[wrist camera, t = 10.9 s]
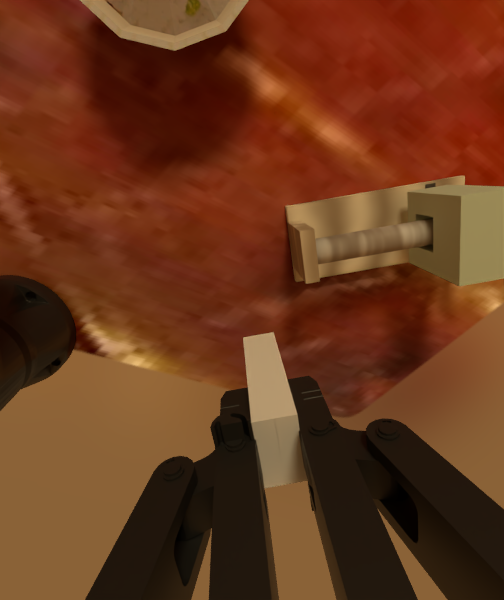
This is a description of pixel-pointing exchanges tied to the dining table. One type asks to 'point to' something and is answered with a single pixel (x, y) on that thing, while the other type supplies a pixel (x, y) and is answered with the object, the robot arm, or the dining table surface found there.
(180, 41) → the bowl
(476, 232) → the square sliding block
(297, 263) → the rail stand
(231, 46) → the dining table surface
